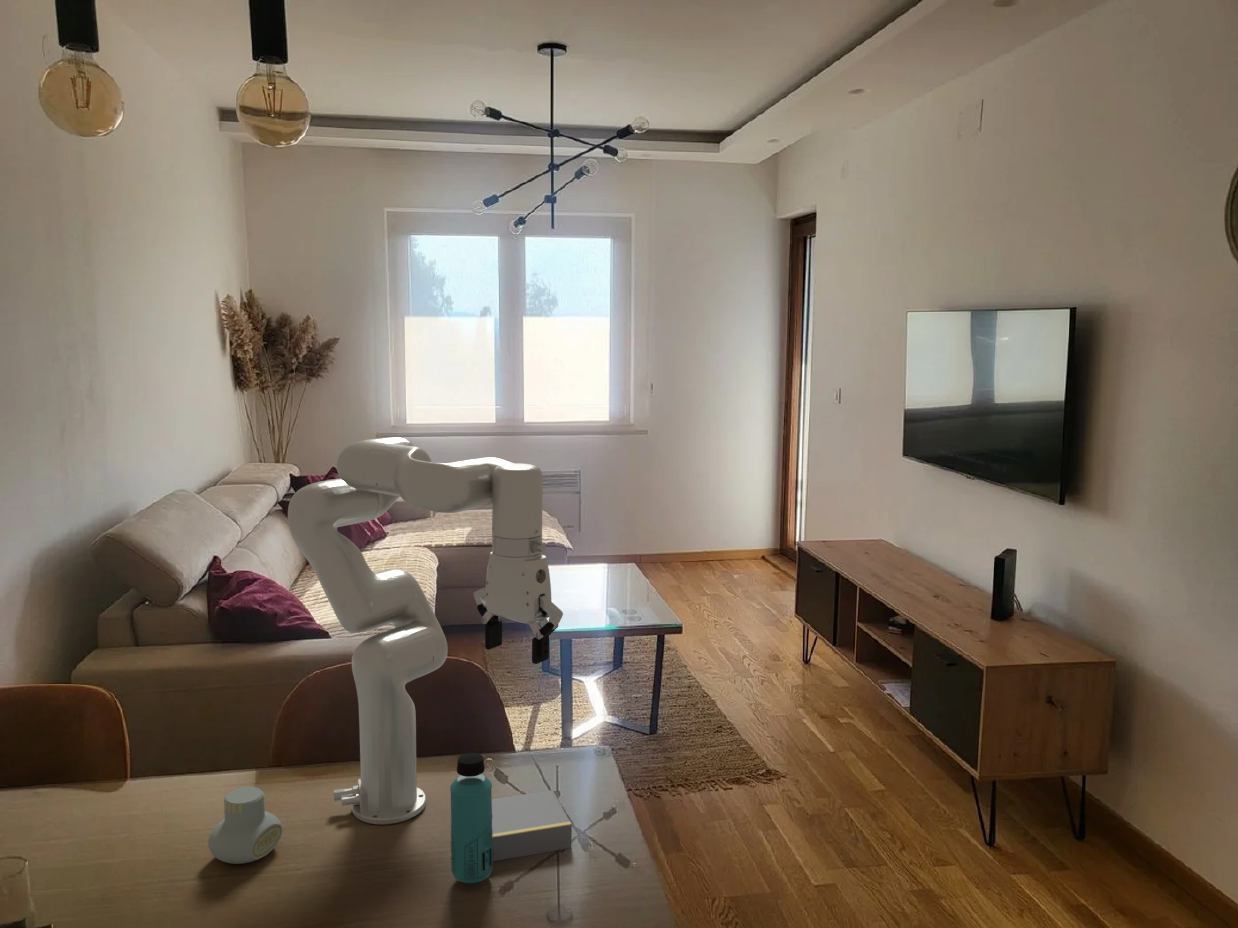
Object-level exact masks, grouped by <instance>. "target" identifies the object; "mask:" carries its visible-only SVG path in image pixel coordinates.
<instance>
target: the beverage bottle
mask: <svg viewBox="0 0 1238 928" xmlns="http://www.w3.org/2000/svg"><path fill="white" fill-rule="evenodd" d="M484 759H485V758H484V756H483V755H482V754H480V753H476V752H468V753H464V754H461V755H460V756H459V757H458V759H457V764H456V765H457V766H456V772H457V774H458V775H459V776H458V777H457V778H455V779H454V780H453V781H452V782H451V784H450V789H449V791H450V823H449V825H450V835H449V836H450V853H451V854H450V864H451V870H450V871H451V873H452V875H453V878H454V879H455V880H456V881H458V882H462V883H464V884H465V883H466V884H473V883H478V882H482V881H484V880H486V879H488V878H489V877H490V876H491V874H492V871H493V869H494V862H495V861H494V860H493V856H492V840H493V838H492V835H493V834H492V833H493V832H492V831H493V830H492V817H493V815H492V799H493V798H492V788H493V784H492V781H491V780H490V779H489V778H488V777H487V776H486V775H484V774H483V773H484V772H485V768H486V767H485V760H484Z"/></svg>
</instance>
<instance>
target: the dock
mask: <svg viewBox="0 0 1238 928" xmlns="http://www.w3.org/2000/svg"><path fill="white" fill-rule="evenodd" d="M492 815H493V817H492V830H493V831H492V832H493V833H492V834H493V835H492V838H493V840H492V856H493V860H494V862H497V861H503V860H509V859H513V858H514V859H515V858H519V857H520V858H521V857H526V856H531V855H537V854H538V855H539V854H543V853H549V852H555V851H561V850H567V849H572V834H573V833H572V829H573V828H572V827H573V826H572V822H571V821H570V820H569V819H570V818H569V817H568V816H567V814H566V812H565V810H564V808H563V806H562V805H561V803H560V801H559V799H558V797H557V796H556V793H555V792H554V790H553V789H551V790H545V791H539V792H531V793H525V794H517V795H512V796H504V797H499V798H498V797H497V798H492Z"/></svg>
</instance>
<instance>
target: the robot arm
mask: <svg viewBox="0 0 1238 928" xmlns="http://www.w3.org/2000/svg"><path fill="white" fill-rule="evenodd" d="M336 471H337V474H338V476H339V477H340V478H334V479H333V478H332V479H326V480H321V481H317V482H313V483H310V484H306V485H305V486H303V487H301V488H299V489H298V490H297V491H296V492H294V493H293V495H292V497H291V498H290V500H289V504H288V508H287V524H288V528H289V531H290V535H291V537H292V539H293V541H294V543H295V544H296V547H297V548H298V549H299V551H300V552H301V553H302V554H303V556H304V558H305V559H306V560H307V561H308V563H309V565H310V566H311V567H312V569H313V571H314V572H315V575H316V576H317V578H318V581H319V583H320V586H321V588H322V590H323V591H324V594H325V595H326V598H327V601H328V602H329V604H330V607H331V609H332V610H333V613H334V615H335V617H336V618H337V620H338V622H339V623H340V625H341V626H342V628H343V629H344V630H346V631H347V632H349V633H353V634H358V633H364V632H368V631H371V630H374V629H377V628H380V627H383V626H387V625H390V624H392V625H393V626H394V628H392V629H389V630H386V631H385V630H384V631H383V632H381V633H380V632H379V633H377V634H375V635H372V636H370V637H368V638H366V639H365V640H363V641H361V643H359V644H358V645H357V647H355V649H354V652H353V654H352V657H351V670H352V675H353V679H354V684H355V688H356V694H357V701H358V702H357V703H358V704H357V705H358V718H359V719H358V721H359V722H358V723H359V724H358V725H359V759H360V764H359V765H360V778H358V780H357V784H355V785H352V787H349V788H338V789H334V790H333V802H340V801H341V806H342V807H344V806H350V805H351V808H352V809H351V810H352V814H353V815H354V817H355V818H357V820H360V821H362V822H364V823H366V824H372V825H391V824H393V825H394V824H398V823H401V822H405V821H408V820H410V819H413V818H414V817H416V816H417V815H419V814H420V813H421V812H422V811H423V810H424V808H425V807H426V806H427V805H426V804H427V796H426V794H425V792H424V791H423V790H422V789H421V788H419V787H418V786H417V784H418V783H417V723H416V722H417V719H416V717H417V715H416V707H415V706H416V705H415V703H414V701H413V699H412V698H411V696H410V695H409V693H408V692H407V690H406V684H407V683H410V682H411V681H414V680H416V679H418V678H419V679H420V677H423V676H426V675H428V674H430V673H432V672H434V671H436V670H438V669H439V668H441V667H442V666H443V665H444V663H445V662H446V660H447V657H448V651H449V650H448V649H449V648H448V642H447V639H446V635H445V634H444V633H445V632H444V631H443V629H442V626H441V624H440V622H439V621H438V619H437V616H436V614H435V612H434V611H433V609H432V606H431V604H430V602H429V600H428V599H427V597H426V595H425V592H424V591H423V589H422V587H421V585H420V583H419V582H418V581H417V580H416V578H415V577H414V576H413V575H412V574H411V573H409V572H407V571H405V570H403V569H400V568H389V569H384V570H380V571H376V572H375V571H373V570H372V569H371V568H370V566H369V565H368V562H367V561H366V559H365V557H364V555H363V553H362V551H361V550H360V548H359V547H358V546H357V545H356V544H355V543H354V542H353V541H352V540H351V539H349V538H348V537H347V536H345V535H344V534H342V533H341V532H339V531H338V528H340V527H346V526H350V525H356V524H360V523H365V522H370V521H374V520H376V519H378V518H380V517H381V516H383V515H384V514H385V513H387V511H388V510H389V509H390V508H391V507H392V506H393V505H394V503H396V501H397V500H398V499H399V498H401V499H402V500H403V502H405V504H407V505H409V506H410V507H412V508H415V509H419V510H424V511H431V512H436V513H443V514H455V513H461V512H465V511H470V510H475V509H479V508H484V507H490V506H491V508H492V509H491V512H492V513H491V530H492V531H491V539H492V540H491V552H490V553H489V557H488V563H487V568H486V569H487V570H486V577H485V586H484V587H483V588H480V589H478V590H476V591H474V592H473V598H474V599H475V603H476V605H477V606H476V607H477V608H476V609H477V610H478V613H479V614H480V616H481V622H482V624H484V648H485V650H491V649H495V648H497V647H499V646H502V644H503V621H502V620H501V619H500V618H503V619H507V620H510V621H514V622H518V623H522V624H526V625H529V627H530V628H531V631H532V632H533V635H534V637H533V638H532V639H531V662H532V664H533V665H534V664H535V665H538V664H539V663H543V662H545V661H547V660H548V659H549V657H550V636H552V635H553V633H554V632H555V631H556V630H557V629H558V627H559V624H560V623H561V620H562V618H563V616H564V612H563V611H562V610H561V609H560V608H559V607H558V606H557V605H556V604H554V602H552V586H551V585H552V584H551V575H550V569H549V563H548V559H547V556H546V555H543V553H544V552H545V551H546V549H547V545H546V543H543V492H544V490H543V484H544V483H543V481H544V479H543V477H544V476H543V471H542V470H541V468H540V467H539V466H537V465H534V464H530V463H519V462H517V463H516V462H515V463H514V462H510V461H509V460H505V459H504V458H503V459H502V458H499V457H493V456H487V457H486V456H485V457H480V458H479V457H478V458H471V459H464V460H459V461H453V462H446V463H445V462H432V459H431V457H430V455H429V454H428V453H427V452H426V451H425V449H423V448H421V447H420V446H419V447H418V446H415V445H414V444H413V442H411V441H409V440H408V439H406V438H403V437H399V436H389V437H383V438H382V437H381V438H371V439H364V440H359V441H355V442H352V443H349V444H348V445H347V446H346V447H344V448H343V450H341V452H340V453H339V455H338V457H337V460H336ZM540 626H541V627H540Z"/></svg>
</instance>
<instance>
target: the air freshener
mask: <svg viewBox="0 0 1238 928" xmlns="http://www.w3.org/2000/svg"><path fill="white" fill-rule="evenodd" d="M223 801H224V802H223V804H224V805H223V806H224V807H223V808H224V809H223V811H224V818H222V820H220V821H219V822H218V823H217V824H216V825H215V826H214V828H213V829H212V831H211V833H210V834H209V837H208V840H207V841H208V848H209V851H210V853H211V854H212V855H213V856H214V858H216V859H218V860H219V861H221V862H224V863H227V864H231V865H234V864H237V865H241V864H248V863H252V862H255V861H258V860H260V859H262V858H263V857H265V856H267V855H268V854H269V853H271V852H272V851H273V850H274V849H275V847H276V846H277V844H278V843H279V841H280V839H281V837H282V835H283V827H282V823H281V821H280V820H279V819H278V817H277V816H275V814H273V813H272V812H269V811H266V810H265V809H266V808H265V807H266V806H265V793H264V791H263V790H262V789H261V788H259V787H255V786H243V787H239V788H237V789H236V788H235V789H234V790H231V791H230V792H229V793H227V794H226V796H224V798H223Z"/></svg>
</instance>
